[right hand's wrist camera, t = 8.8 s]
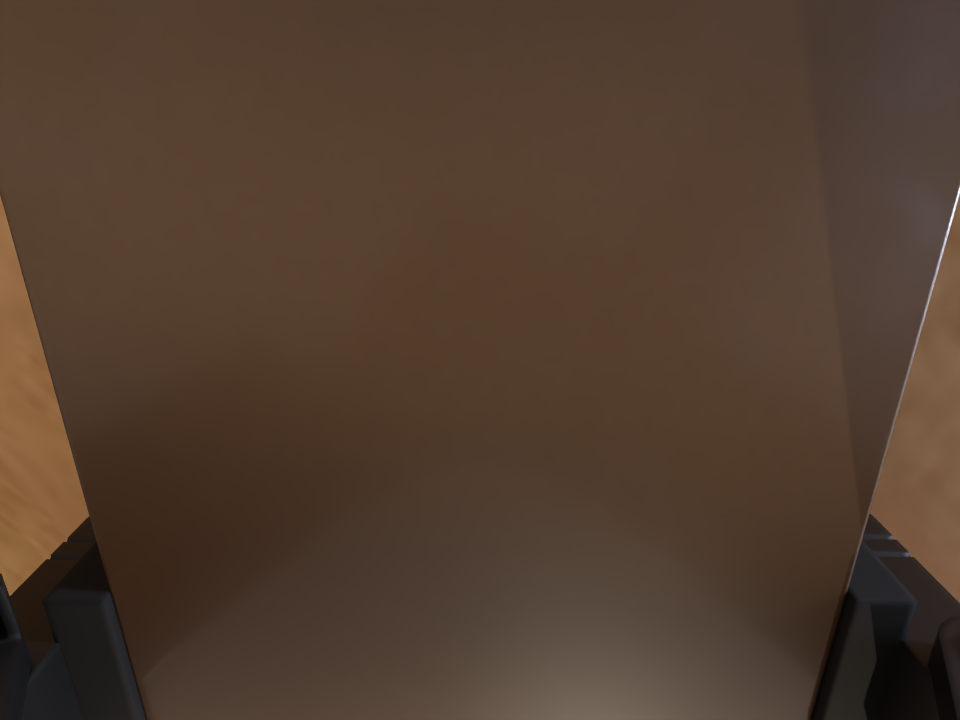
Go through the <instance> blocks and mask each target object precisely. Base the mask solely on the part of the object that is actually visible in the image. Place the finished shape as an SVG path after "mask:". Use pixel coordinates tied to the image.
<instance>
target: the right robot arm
mask: <svg viewBox="0 0 960 720" xmlns="http://www.w3.org/2000/svg"><path fill="white" fill-rule="evenodd" d="M892 537H893V536H892V535H891V534H890V533H889V532H888V531H887V530H886V529H885V528H884V527H883V526H882V525H881V524H880V523H879V522H878V521H877V520H876V519H875V518H874V517H873V516H872V515H871V514H869V517H868V520H867V524H866V527H865V531H864V534H863V538H862V541H861V545H860V548H859V552H858V555H857V559H856V562H855V566H854V569H853V573H852V577H851V580H850V584H849V587H848V591H847V594H846V598H845V601H844V605H843V608H842V612H841V615H840V619H839V622H838V626H837V629H836V633H835V637H834V640H833V644H832V647H831V651H830V654H829V658H828V661H827V665H826V668H825V672H824V675H823V679H822V682H821V686H820V689H819V693H818V696H817V700H816V704H815V707H814V711H813V714H812V718H811V720H960V603H959V602H958V601H957V600H956V599H955V598H954V597H953V596H952V595H951V594H950V593H949V592H948V591H947V590H946V589H945V588H944V587H943V586H942V585H941V584H940V583H939V582H938V581H937V580H936V579H935V578H934V577H933V576H932V575H931V574H930V573H929V572H928V571H927V570H926V569H925V568H924V567H923V566H922V565H921V564H920V563H919V562H918V561H917V560H916V559H915V558H914V557H910V556H909V552H908V551H907V550H906V549H905V548H904V547H903V546H902V545H901V544H900V543H899V542H898V541H897V540H893V538H892ZM0 720H146V716H145V712H144V709H143V705H142V702H141V698H140V695H139V691H138V687H137V684H136V680H135V677H134V673H133V670H132V666H131V662H130V659H129V655H128V652H127V648H126V645H125V641H124V637H123V634H122V630H121V627H120V623H119V620H118V616H117V612H116V609H115V605H114V602H113V598H112V595H111V591H110V588H109V584H108V580H107V577H106V573H105V570H104V566H103V562H102V559H101V555H100V552H99V548H98V544H97V541H96V537H95V534H94V530H93V526H92V523H91V519H90V517H88V518H87V519H86V520H85V521H84V522H83V523H82V524H81V525H80V526H79V527H78V528H77V529H76V530H75V531H74V532H73V533H72V534H71V535H70V536H69V537H68V540H67V542H63V543H62V544H61V545H60V546H59V547H58V548H57V549H56V550H55V551H54V552H53V553H52V554H51V558H50V559H46V560H45V561H44V562H43V563H42V565H41V566H40V567H39V568H38V569H37V570H36V571H35V572H34V573H33V574H32V575H31V576H30V577H29V578H28V579H27V580H26V581H25V582H24V583H23V584H22V585H21V586H20V587H19V588H18V589H17V590H16V591H15V592H14V593H13V594H12V595H11V596H10V597H9V594H8V591H7V588H6V585H5V582H4V580H3V577H2V574H0Z"/></svg>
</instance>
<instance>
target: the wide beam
mask: <svg viewBox="0 0 960 720" xmlns="http://www.w3.org/2000/svg"><path fill="white" fill-rule="evenodd" d="M0 195H1V198H2V202H3V206H4V209H5V213H6V216H7V220H8V224H9V227H10V231H11V235H12V238H13V242H14V245H15V249H16V253H17V256H18V260H19V263H20V267H21V271H22V274H23V278H24V281H25V285H26V289H27V292H28V296H29V299H30V303H31V307H32V310H33V314H34V317H35V321H36V325H37V328H38V332H39V335H40V339H41V343H42V346H43V350H44V353H45V357H46V361H47V364H48V368H49V371H50V375H51V379H52V382H53V386H54V389H55V393H56V397H57V400H58V404H59V407H60V411H61V415H62V418H63V422H64V426H65V429H66V433H67V436H68V440H69V444H70V447H71V451H72V454H73V458H74V462H75V465H76V469H77V472H78V476H79V480H80V483H81V487H82V490H83V494H84V498H85V501H86V505H87V508H88V512H89V516H90V519H91V523H92V526H93V530H94V534H95V537H96V541H97V544H98V548H99V552H100V555H101V559H102V562H103V566H104V570H105V573H106V577H107V580H108V584H109V588H110V591H111V595H112V598H113V602H114V605H115V609H116V612H117V616H118V620H119V623H120V627H121V630H122V634H123V637H124V641H125V645H126V648H127V652H128V655H129V659H130V662H131V666H132V670H133V673H134V677H135V680H136V684H137V687H138V691H139V695H140V698H141V702H142V705H143V709H144V712H145V716H146V720H811V718H812V714H813V711H814V707H815V704H816V700H817V696H818V693H819V689H820V686H821V682H822V679H823V675H824V672H825V668H826V665H827V661H828V658H829V654H830V651H831V647H832V644H833V640H834V637H835V633H836V629H837V626H838V622H839V619H840V615H841V612H842V608H843V605H844V601H845V598H846V594H847V591H848V587H849V584H850V580H851V577H852V573H853V569H854V566H855V562H856V559H857V555H858V552H859V548H860V545H861V541H862V538H863V534H864V531H865V527H866V524H867V520H868V517H869V513H870V509H871V506H872V502H873V499H874V495H875V492H876V488H877V485H878V481H879V478H880V474H881V471H882V467H883V464H884V460H885V457H886V453H887V449H888V446H889V442H890V439H891V435H892V432H893V428H894V425H895V421H896V418H897V414H898V411H899V407H900V404H901V400H902V397H903V393H904V389H905V386H906V382H907V379H908V375H909V372H910V368H911V365H912V361H913V358H914V354H915V351H916V347H917V344H918V340H919V337H920V333H921V329H922V326H923V322H924V319H925V315H926V312H927V308H928V305H929V301H930V298H931V294H932V291H933V287H934V284H935V280H936V277H937V273H938V269H939V266H940V262H941V259H942V255H943V252H944V248H945V245H946V241H947V238H948V234H949V231H950V227H951V224H952V220H953V217H954V213H955V210H956V206H957V202H958V199H959V195H960V0H0Z"/></svg>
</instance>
